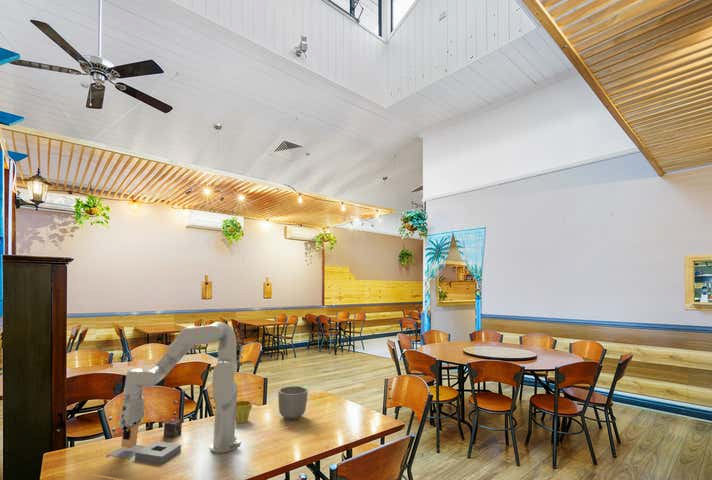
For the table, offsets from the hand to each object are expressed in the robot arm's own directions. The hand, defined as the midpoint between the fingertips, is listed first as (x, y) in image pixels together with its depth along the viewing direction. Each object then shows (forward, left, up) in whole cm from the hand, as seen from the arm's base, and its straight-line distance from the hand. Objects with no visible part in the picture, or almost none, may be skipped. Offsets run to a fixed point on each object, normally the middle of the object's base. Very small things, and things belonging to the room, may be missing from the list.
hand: (129, 436), depth 170 cm
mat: (0, 0, -7) cm, 7 cm away
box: (-7, -20, -7) cm, 22 cm away
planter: (-56, -60, -7) cm, 82 cm away
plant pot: (-30, -48, -7) cm, 57 cm away
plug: (0, 0, -4) cm, 4 cm away
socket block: (-16, 0, -7) cm, 17 cm away
